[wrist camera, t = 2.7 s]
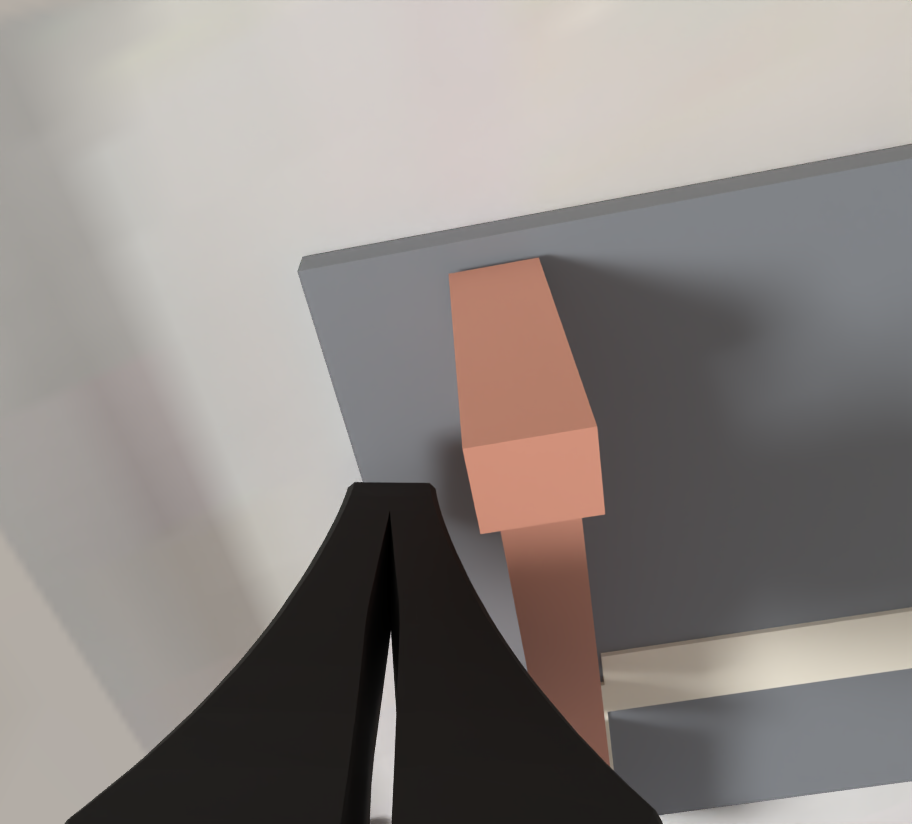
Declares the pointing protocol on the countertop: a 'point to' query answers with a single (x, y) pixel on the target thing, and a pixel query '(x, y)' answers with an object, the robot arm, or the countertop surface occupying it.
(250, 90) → the countertop surface
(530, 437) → the fence panel
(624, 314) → the board
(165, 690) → the countertop surface
